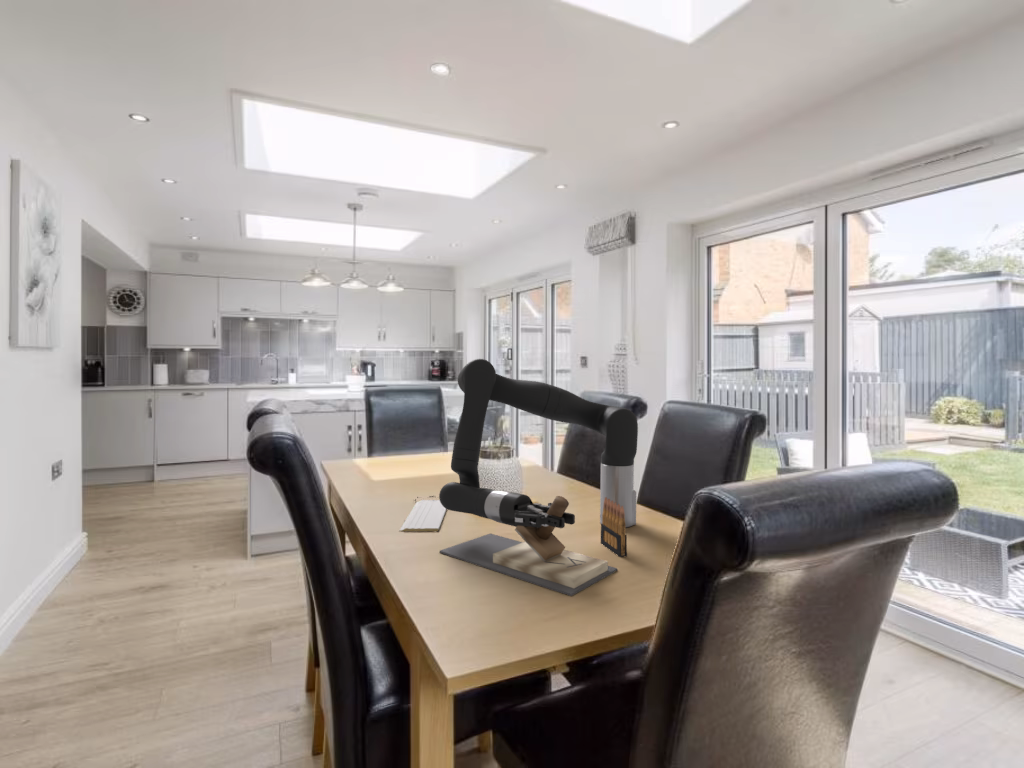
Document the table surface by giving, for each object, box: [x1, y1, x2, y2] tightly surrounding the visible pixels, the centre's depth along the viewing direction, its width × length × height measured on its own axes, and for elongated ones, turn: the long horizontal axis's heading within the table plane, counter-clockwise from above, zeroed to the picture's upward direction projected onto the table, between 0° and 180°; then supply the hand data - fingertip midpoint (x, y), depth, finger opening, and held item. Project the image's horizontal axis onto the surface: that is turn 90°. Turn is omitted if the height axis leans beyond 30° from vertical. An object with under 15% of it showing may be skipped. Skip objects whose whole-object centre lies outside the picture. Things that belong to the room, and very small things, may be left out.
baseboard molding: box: [398, 495, 447, 532], centre depth 167 cm, size 31×3×12 cm
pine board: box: [493, 541, 609, 588], centre depth 124 cm, size 22×13×2 cm, turn 50°
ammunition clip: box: [600, 497, 628, 558], centre depth 137 cm, size 11×2×12 cm, turn 16°
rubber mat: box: [439, 533, 618, 597], centre depth 129 cm, size 38×18×1 cm, turn 50°
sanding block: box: [514, 495, 570, 562], centre depth 124 cm, size 10×6×12 cm
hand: (568, 521), depth 121 cm, fingers closed on sanding block, 3 cm apart
